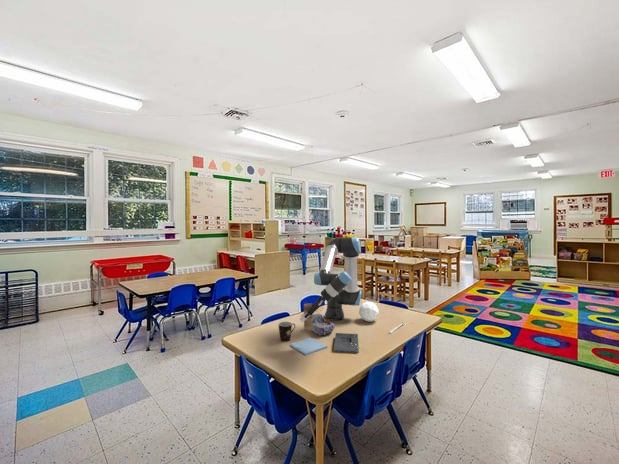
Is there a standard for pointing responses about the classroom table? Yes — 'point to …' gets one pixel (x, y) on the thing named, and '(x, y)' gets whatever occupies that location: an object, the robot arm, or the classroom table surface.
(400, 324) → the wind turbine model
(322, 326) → the cell model
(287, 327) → the coffee mug
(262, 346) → the classroom table surface
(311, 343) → the blue board
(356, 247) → the robot arm
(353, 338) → the socket block
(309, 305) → the walnut peg
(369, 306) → the geometric sphere
